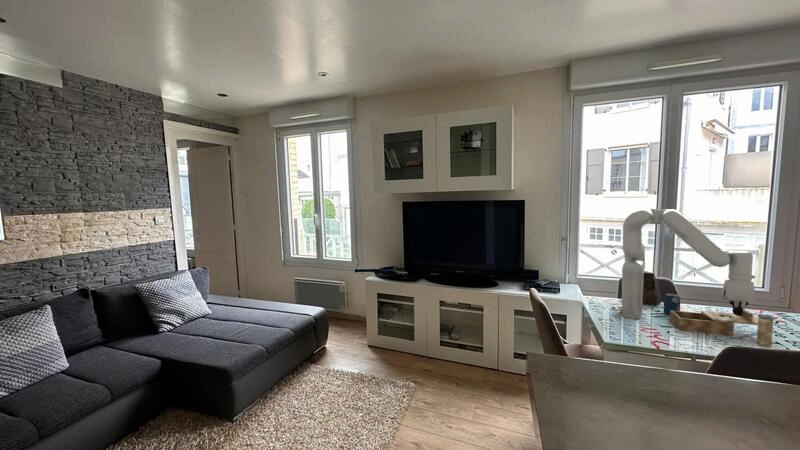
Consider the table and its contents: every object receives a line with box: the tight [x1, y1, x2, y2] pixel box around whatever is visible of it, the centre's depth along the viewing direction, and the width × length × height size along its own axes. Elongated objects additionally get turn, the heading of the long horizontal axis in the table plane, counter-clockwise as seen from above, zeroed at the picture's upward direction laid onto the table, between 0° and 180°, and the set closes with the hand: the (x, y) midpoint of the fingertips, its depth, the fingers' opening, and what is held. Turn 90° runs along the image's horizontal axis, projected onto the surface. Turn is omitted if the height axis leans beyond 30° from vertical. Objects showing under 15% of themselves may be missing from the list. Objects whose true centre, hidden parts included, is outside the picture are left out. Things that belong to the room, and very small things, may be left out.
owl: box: [643, 270, 662, 307], centre depth 199 cm, size 13×13×20 cm
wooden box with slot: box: [669, 310, 735, 337], centre depth 158 cm, size 20×12×7 cm, turn 68°
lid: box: [700, 308, 758, 326], centre depth 153 cm, size 20×12×4 cm, turn 68°
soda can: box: [663, 292, 681, 316], centre depth 177 cm, size 7×7×12 cm
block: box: [756, 313, 775, 349], centre depth 139 cm, size 4×4×14 cm
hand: (737, 314), depth 152 cm, fingers closed
